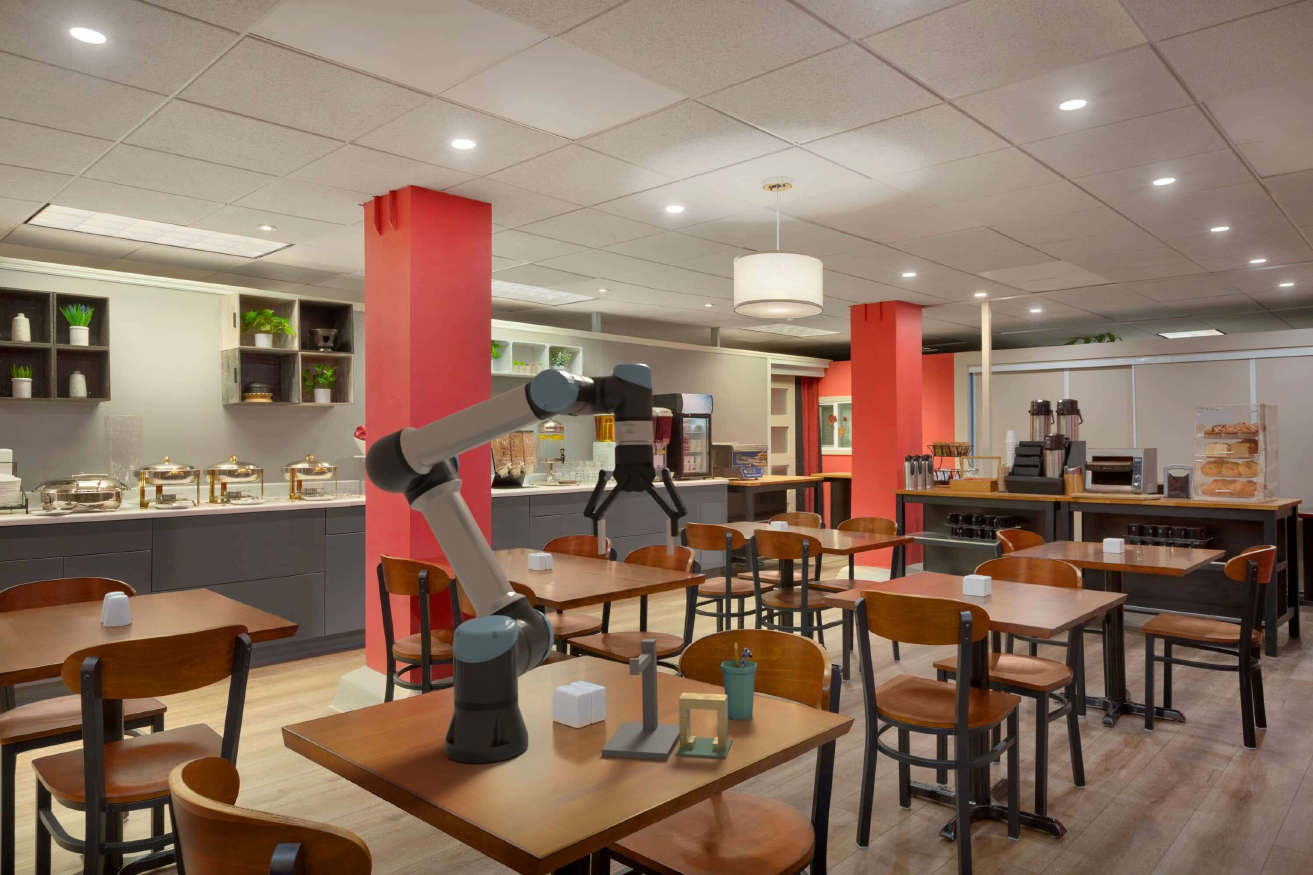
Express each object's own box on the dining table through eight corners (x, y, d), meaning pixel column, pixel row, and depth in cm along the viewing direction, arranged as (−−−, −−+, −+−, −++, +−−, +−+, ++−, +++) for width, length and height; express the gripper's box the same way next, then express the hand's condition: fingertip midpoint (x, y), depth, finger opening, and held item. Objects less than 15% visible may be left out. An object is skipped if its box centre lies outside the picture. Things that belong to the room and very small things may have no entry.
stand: (601, 756, 148) (599, 654, 148) (624, 727, 163) (622, 636, 164) (667, 760, 145) (665, 657, 146) (684, 730, 161) (682, 637, 161)
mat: (675, 755, 147) (675, 753, 147) (684, 738, 156) (684, 736, 156) (725, 758, 146) (725, 756, 146) (732, 741, 154) (732, 739, 154)
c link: (679, 748, 150) (678, 698, 150) (683, 741, 154) (682, 692, 154) (725, 750, 148) (724, 700, 148) (728, 744, 152) (727, 694, 152)
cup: (771, 726, 162) (769, 649, 163) (733, 729, 161) (731, 652, 161) (748, 706, 176) (747, 635, 177) (713, 709, 174) (712, 637, 175)
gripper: (566, 445, 159) (568, 555, 159) (694, 442, 154) (696, 556, 153) (578, 445, 167) (580, 551, 166) (700, 442, 161) (702, 551, 161)
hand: (635, 554), depth 160 cm, fingers open, 13 cm apart
